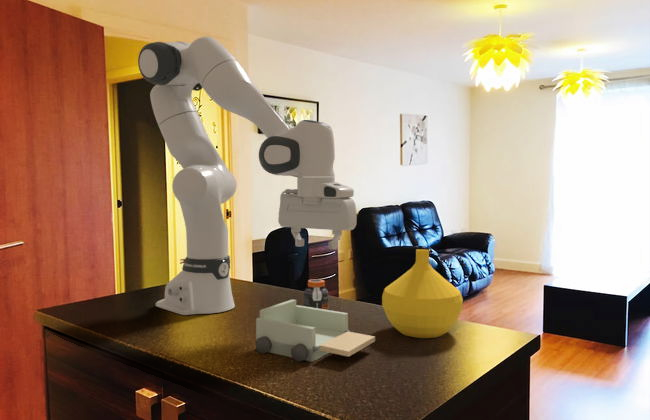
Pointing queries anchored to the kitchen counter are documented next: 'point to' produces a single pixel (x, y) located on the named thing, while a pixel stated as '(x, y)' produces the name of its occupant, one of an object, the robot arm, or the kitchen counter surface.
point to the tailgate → (347, 343)
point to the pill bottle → (316, 294)
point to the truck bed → (298, 330)
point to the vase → (422, 301)
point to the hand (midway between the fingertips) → (316, 247)
